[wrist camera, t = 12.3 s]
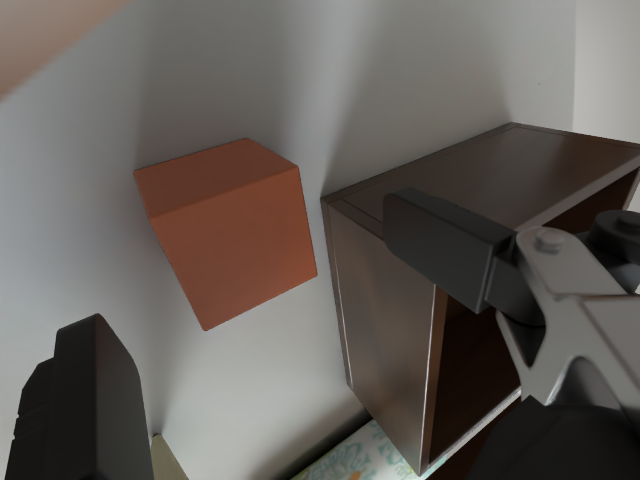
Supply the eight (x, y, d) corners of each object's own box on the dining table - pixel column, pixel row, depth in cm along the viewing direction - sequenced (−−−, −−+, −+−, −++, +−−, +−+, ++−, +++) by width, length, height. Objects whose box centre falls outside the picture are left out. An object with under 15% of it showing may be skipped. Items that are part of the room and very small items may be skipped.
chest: (319, 198, 17) (436, 274, 11) (512, 121, 23) (656, 146, 17) (346, 384, 26) (418, 478, 21) (479, 296, 32) (564, 351, 26)
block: (132, 170, 12) (147, 218, 9) (248, 136, 14) (299, 165, 10) (178, 267, 15) (204, 333, 11) (271, 229, 16) (318, 276, 13)
